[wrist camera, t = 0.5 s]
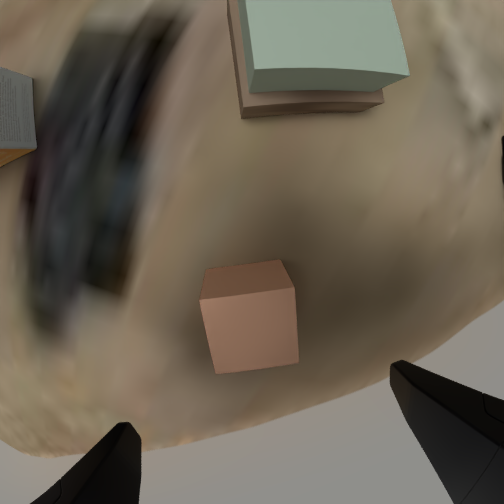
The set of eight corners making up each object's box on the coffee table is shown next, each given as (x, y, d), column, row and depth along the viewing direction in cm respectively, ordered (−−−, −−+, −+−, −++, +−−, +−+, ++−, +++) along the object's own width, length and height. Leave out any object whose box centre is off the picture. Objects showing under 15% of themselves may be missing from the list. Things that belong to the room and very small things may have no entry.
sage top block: (351, -6, 12) (376, -37, 8) (373, 92, 14) (409, 76, 10) (235, -11, 12) (237, -50, 8) (248, 93, 14) (254, 69, 10)
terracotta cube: (279, 258, 20) (294, 287, 16) (285, 323, 22) (299, 362, 17) (206, 268, 20) (199, 299, 15) (218, 332, 22) (215, 374, 17)
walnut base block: (338, 15, 16) (357, -9, 12) (357, 112, 18) (384, 102, 14) (227, 16, 16) (226, -13, 12) (241, 119, 18) (243, 106, 14)
